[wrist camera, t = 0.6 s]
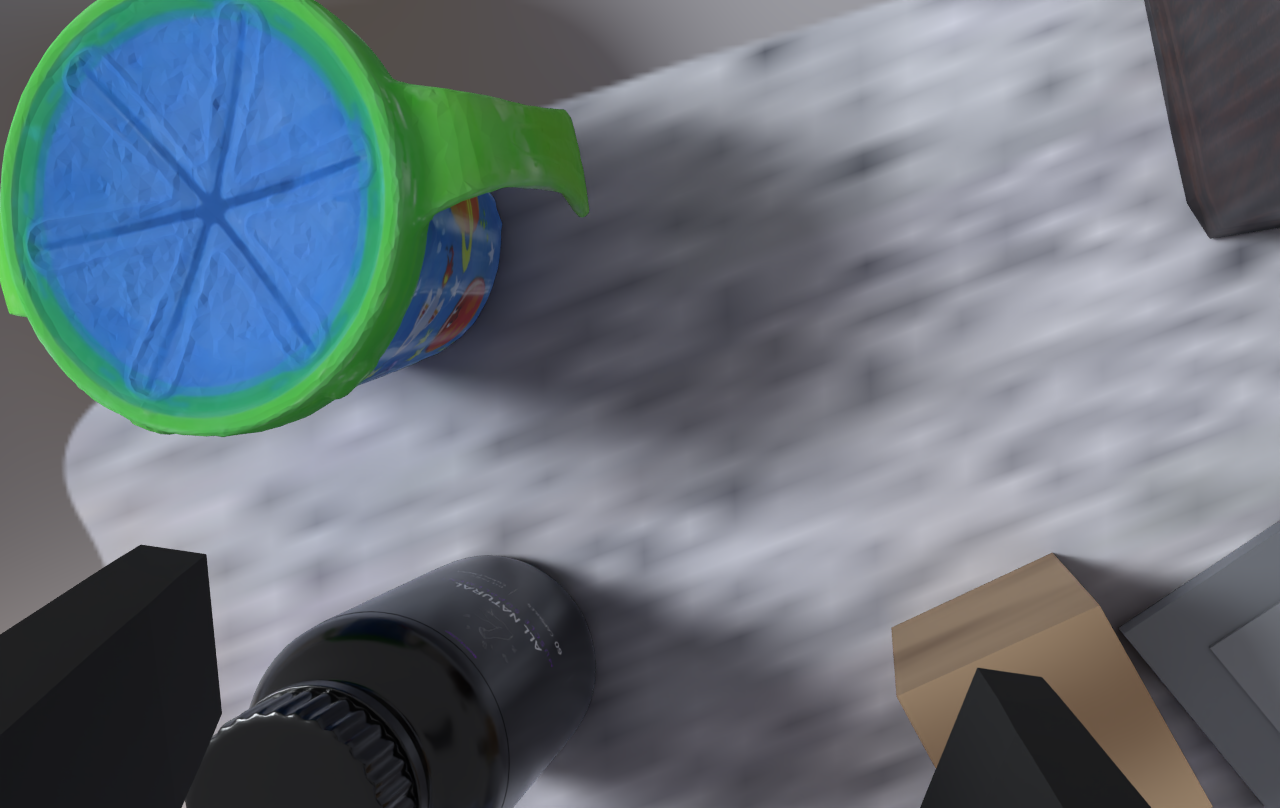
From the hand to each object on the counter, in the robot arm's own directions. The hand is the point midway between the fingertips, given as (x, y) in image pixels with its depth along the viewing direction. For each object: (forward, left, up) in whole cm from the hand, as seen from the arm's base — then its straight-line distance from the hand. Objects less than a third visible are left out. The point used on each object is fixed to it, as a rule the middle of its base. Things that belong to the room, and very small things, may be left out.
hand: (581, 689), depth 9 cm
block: (-8, -3, -21) cm, 23 cm away
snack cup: (+12, +8, -21) cm, 25 cm away
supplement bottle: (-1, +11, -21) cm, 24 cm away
